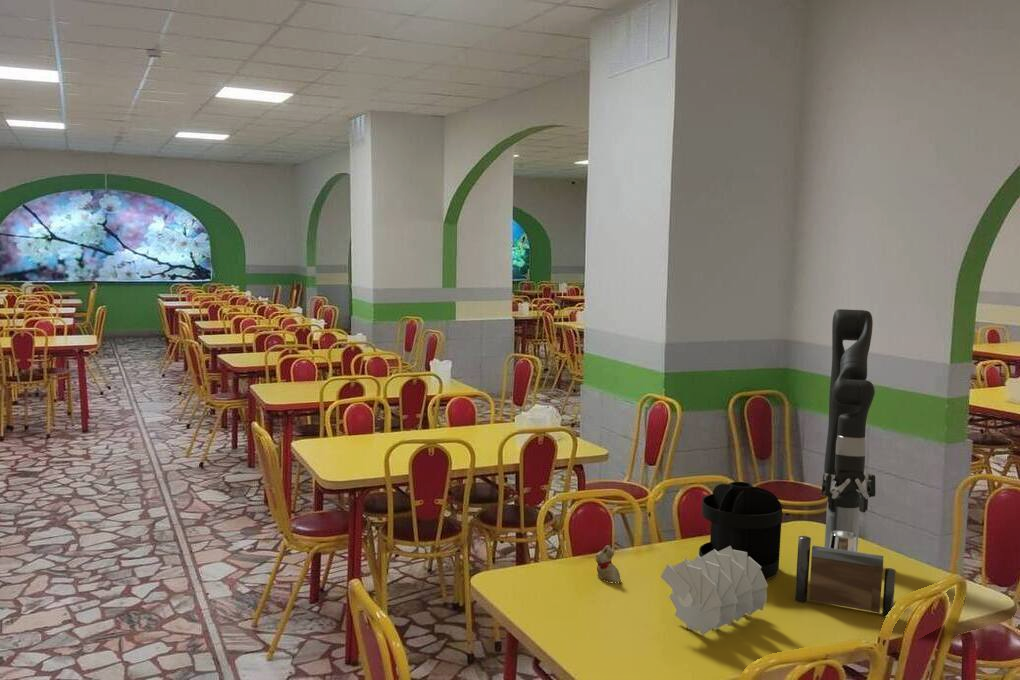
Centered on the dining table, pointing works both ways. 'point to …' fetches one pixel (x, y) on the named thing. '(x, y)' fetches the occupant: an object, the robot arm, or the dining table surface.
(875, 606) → the gate
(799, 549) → the gate posts
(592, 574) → the dining table surface
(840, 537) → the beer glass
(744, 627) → the dining table surface
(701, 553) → the container
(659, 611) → the dining table surface
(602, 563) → the chocolate bunny
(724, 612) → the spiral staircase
